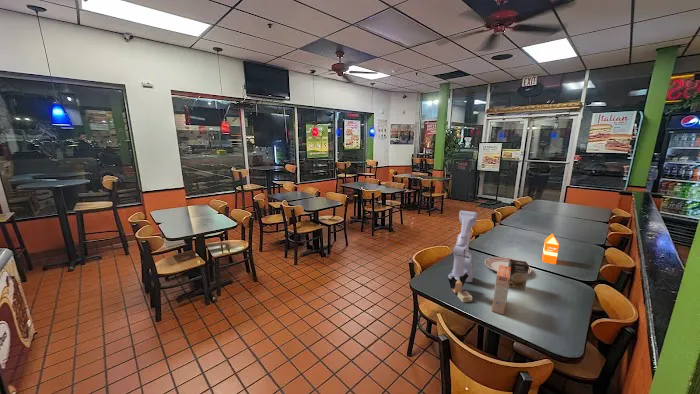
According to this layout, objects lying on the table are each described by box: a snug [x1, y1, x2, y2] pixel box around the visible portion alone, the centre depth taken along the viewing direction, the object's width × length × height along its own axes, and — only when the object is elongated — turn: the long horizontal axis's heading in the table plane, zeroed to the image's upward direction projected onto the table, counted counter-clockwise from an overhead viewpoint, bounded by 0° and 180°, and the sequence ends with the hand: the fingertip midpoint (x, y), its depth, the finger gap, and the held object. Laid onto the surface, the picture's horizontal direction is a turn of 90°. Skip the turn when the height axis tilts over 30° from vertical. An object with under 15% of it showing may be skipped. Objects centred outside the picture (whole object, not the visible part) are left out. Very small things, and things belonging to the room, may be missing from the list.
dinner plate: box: [484, 256, 532, 275], centre depth 182 cm, size 28×27×3 cm
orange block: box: [451, 280, 463, 294], centre depth 156 cm, size 4×4×6 cm
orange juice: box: [541, 233, 560, 265], centre depth 192 cm, size 8×9×20 cm
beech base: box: [457, 290, 473, 303], centre depth 148 cm, size 6×6×3 cm
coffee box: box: [508, 258, 530, 291], centre depth 158 cm, size 9×6×16 cm
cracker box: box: [491, 265, 511, 316], centre depth 139 cm, size 14×6×21 cm, turn 146°
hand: (457, 286), depth 156 cm, fingers open, 7 cm apart
